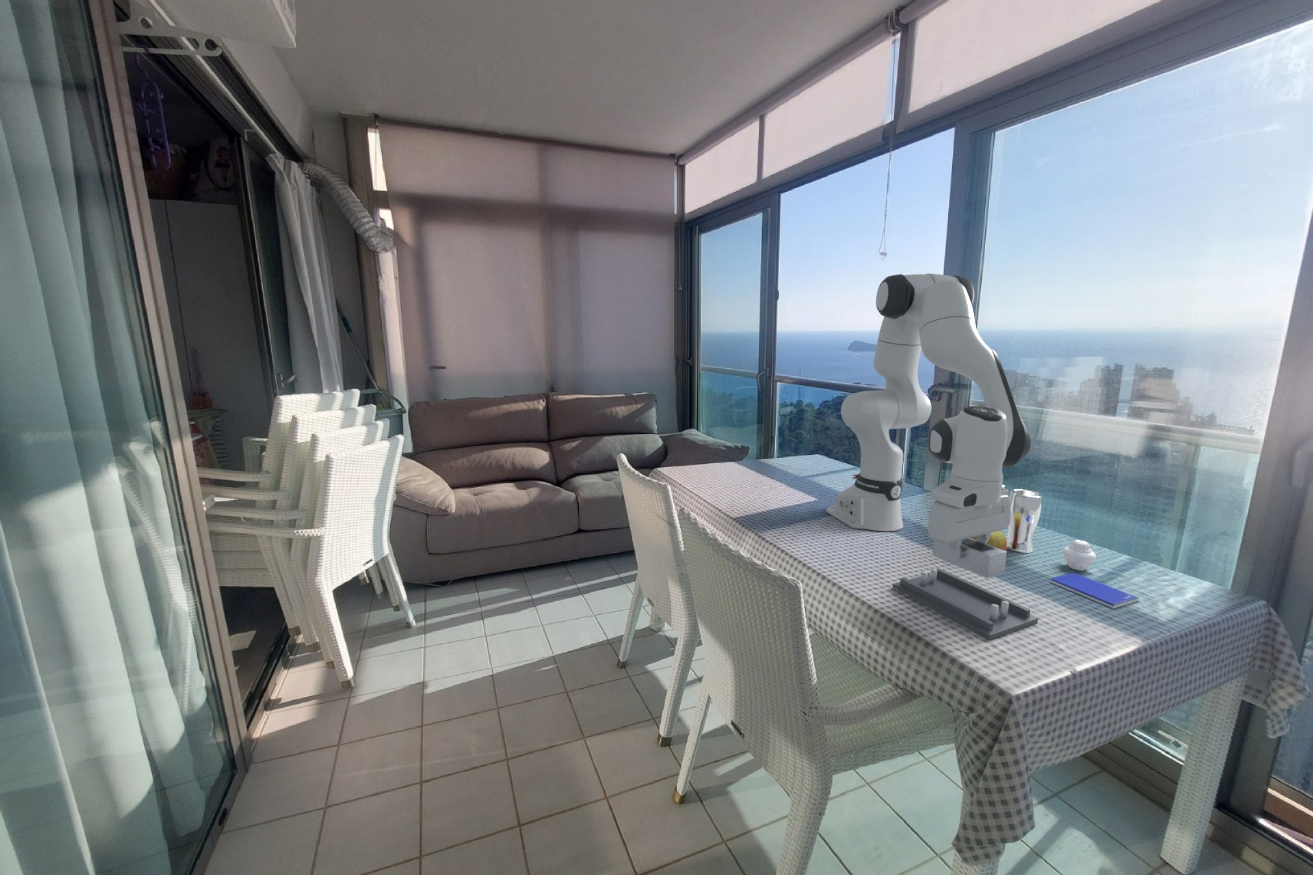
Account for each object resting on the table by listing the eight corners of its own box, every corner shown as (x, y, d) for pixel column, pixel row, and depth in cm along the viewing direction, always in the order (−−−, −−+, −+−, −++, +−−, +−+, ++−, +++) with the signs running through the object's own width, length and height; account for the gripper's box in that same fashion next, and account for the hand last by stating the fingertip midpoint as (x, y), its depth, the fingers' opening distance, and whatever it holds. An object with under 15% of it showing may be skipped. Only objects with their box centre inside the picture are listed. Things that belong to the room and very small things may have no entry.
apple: (950, 551, 136) (953, 522, 134) (976, 545, 140) (979, 516, 138) (987, 567, 127) (991, 535, 125) (1013, 560, 131) (1018, 529, 129)
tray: (892, 587, 117) (894, 571, 116) (936, 575, 122) (938, 559, 122) (990, 640, 97) (992, 620, 96) (1037, 622, 103) (1040, 603, 102)
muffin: (1059, 568, 126) (1064, 540, 125) (1061, 559, 131) (1066, 533, 129) (1093, 576, 122) (1098, 547, 121) (1094, 567, 127) (1099, 539, 125)
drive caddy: (932, 554, 112) (934, 533, 111) (948, 550, 114) (950, 530, 113) (987, 578, 101) (990, 555, 100) (1004, 573, 103) (1007, 550, 103)
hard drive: (1138, 596, 111) (1074, 572, 122) (1114, 603, 108) (1050, 577, 119) (1137, 603, 111) (1073, 578, 122) (1112, 610, 108) (1049, 584, 120)
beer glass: (999, 548, 137) (1007, 493, 134) (1005, 540, 142) (1012, 487, 139) (1032, 556, 133) (1040, 498, 130) (1037, 548, 138) (1045, 492, 135)
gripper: (993, 479, 112) (985, 541, 115) (925, 492, 104) (918, 558, 106) (1024, 487, 106) (1015, 552, 109) (954, 501, 98) (947, 571, 101)
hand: (967, 555), depth 108 cm, fingers closed on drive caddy, 5 cm apart
